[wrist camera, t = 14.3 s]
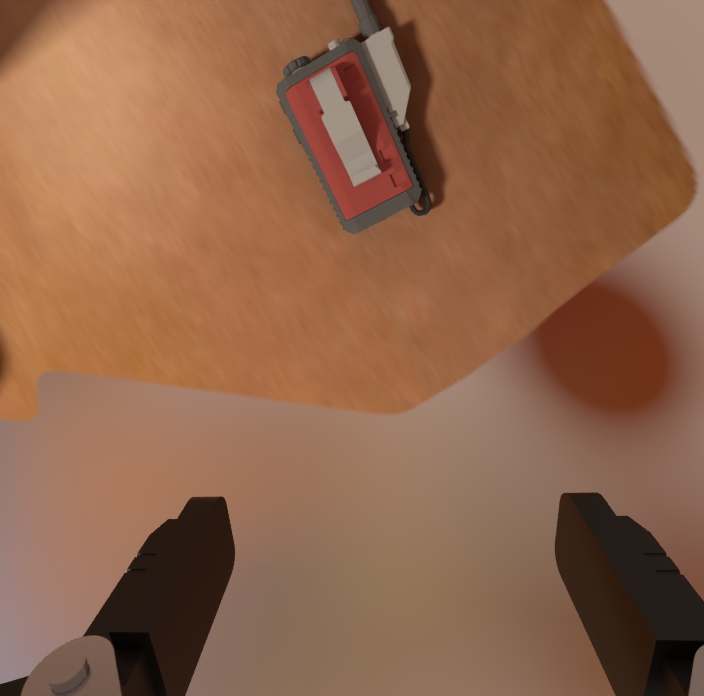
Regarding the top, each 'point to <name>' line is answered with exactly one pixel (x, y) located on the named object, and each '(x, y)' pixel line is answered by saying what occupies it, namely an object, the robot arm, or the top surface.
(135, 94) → the top surface
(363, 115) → the walkie-talkie
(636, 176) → the top surface
